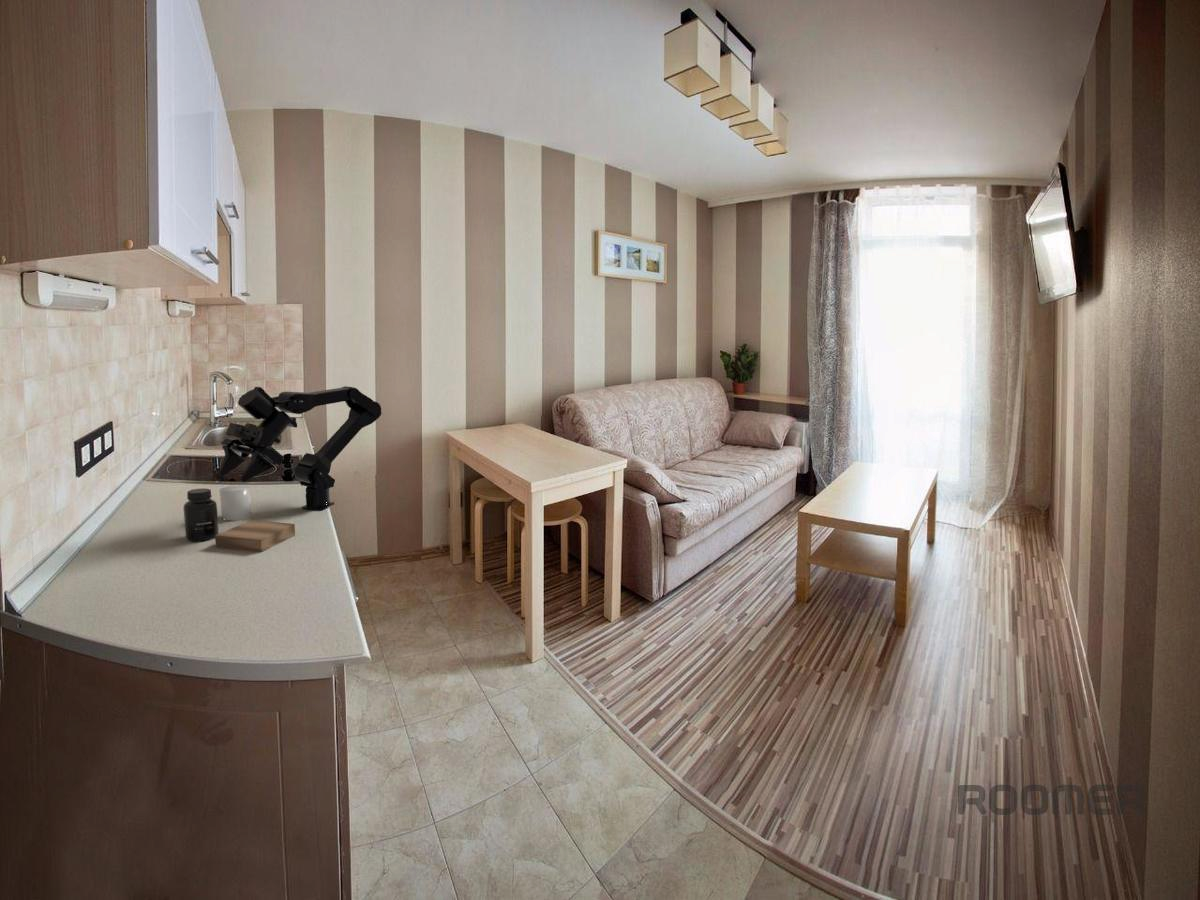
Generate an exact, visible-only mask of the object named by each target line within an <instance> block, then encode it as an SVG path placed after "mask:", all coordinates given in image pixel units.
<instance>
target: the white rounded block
mask: <svg viewBox="0 0 1200 900" xmlns="http://www.w3.org/2000/svg"><path fill="white" fill-rule="evenodd" d="M250 488H251V487H250V486H249V485H242V484H238V485H228V486H224V487H221V488H220V489H219V497H220V500H219V501H220V510H221V512H220V513H221V519H222V518H223V519H225V520H224V521H226V520H237V521H243V520H247V519H249V518H251V517H252V514H253V513H252V502H251V489H250ZM246 518H247V519H246ZM223 519H222V520H223ZM242 519H243V520H242Z"/></svg>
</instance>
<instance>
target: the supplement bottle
mask: <svg viewBox="0 0 1200 900" xmlns="http://www.w3.org/2000/svg"><path fill="white" fill-rule="evenodd" d="M211 491H212V489H211V488H205V487H203V488H202V487H201V488H194V489H190V490H188V491H187V494H186V495H187V496H186V497H187V500H188V501H187V502H185V503H184V505H183V519H184V531H185V532H184V533H185V538H186V540H187V541H190V542H205V541H210V539H211V540H214V539H215V535H217V534H219V533H220V532H219V531H220V530H219V522H218V521H219V518H218V506H217V504H218V503H217V502H216V501H215V500H214V499H212V492H211ZM213 538H214V539H213Z"/></svg>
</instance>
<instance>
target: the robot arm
mask: <svg viewBox="0 0 1200 900" xmlns="http://www.w3.org/2000/svg"><path fill="white" fill-rule="evenodd" d="M342 402H345V405H346V406H347V407H348V408H350V410H349V412H348V418H346V420H345V421H344V423H343V424H342V425H341V426H340V427H339V428H338V429H337V431H335V432H334V433H333V435H332V436H331V437H330V438H329V439H328V440H327V441H326V442H325V443H324V445H323V446H322V447H321V448H319V450H318V451H317V452H316V453H314V454H313V453H309V452H306V453H305V454H303V456H302V458H301V459H300V460H299V461H296V464H297V465H296V466H295V467H294V477H295V478H296V480H298V481H299V484H300V486H302V487H306V488H305V505H303V506H301V508H302V509H305V510H315V509H317V510H318V511H323V510H326V509H328V508H329V507H331V506H334V505H335V502H334V501H333V502H331V501H330V488H334V485H335V483H336V482H335V481H336V480H335V478H334V477H332V476H331V474H330V472H331V468H332V464H333V462H334V460H335V459H336V458H337V457H338V456H339V455H340V454H341V452H343V450H344V449H345V448H346V447H347V446H348V445H349V443H350V442H351V441H352V440H353V439H354V438H355V437H356V436H357V434H359V432H360V431H361V430H362V429H363V428H365V427H368V426H370V425H372V424H373V423H375V422H376V421H377V420H378V419H379V418H380V417H381V416H382V413H383V412H382V407H381V404H380V403H379V402H377V401H374V400H373V399H372V398H370V397H369V396H367V395H366V394H364V393H362V392H361V391H360V390H359V389H358V388H357V387H354V386H346V385H345V386H341V387H337V388H331V389H323V390H317V391H312V392H301V391H300V392H299V391H282V392H280V393H279V394H278V396H274V397H271V395H269V394H268V393H267V392H266V391H265V390H264V389H263V387H261V386H255V387H254V388H253V389H251V390H248V391H247V392H246V393H244V394H242V395H241V396H240V397H239V399H238V401H237V404H238V405H239V407H240V408H242V409H243V410H244V411H245V412H246V413H248V414H249V415H250V416H251V417H253V418H254V419H255V420H261V419H262V420H261V422H260V423H259V424H258V425H257V424H253V423H249V422H247V423H246V424H245V425H243V424H239V423H234V422H229V424H228V427H227V430H226V432H225V435H227V436H232V437H227V438H224V440H223V441H221V443H220V445H221V446H222V450H223V452H224V458H223V461H222V463H221V466H220V470H219V472H218V475H219V476H220V477H224V476H226V475H227V474H229V473H230V472H231V471H233V470H234V469H235V468H237V467H239V466H240V465H241V464H243V463H244V462H246V459H247V458H248V457H249V456H250V455H251V461H250V462H249V464H248V465H247V467H245V470H244V472H242V475H241V476H240V478H239V481H240V482H242V483H244V482H246V481H248V480H250V479H252V478H254V477H256V476H258V475H260V474H262V473H264V472H266V471H269V470H271V469H275V467H280V466H281V465H282V463H284V455H282V454H281V453H280V452H278V451H277V450H276V449H275V448H274V447H273V445H274V444H276V445H277V444H279V443H280V442H281V439H279V438H280V437H281V436H282V434H283V433H284V432H285V430H286V429H287V428H288V427H289V428H298V422H297V417H293V416H290V415H288V414H294V415H295V414H296V415H301V414H303V413H306V412H307V413H308V412H309V411H311V410H312V409H314V408H316V407H321V406H326V405H331V404H336V403H342ZM233 437H235V438H233ZM238 438H239V439H238ZM326 502H327V503H326ZM326 504H327V505H326ZM327 506H328V507H327ZM317 510H316V511H317Z"/></svg>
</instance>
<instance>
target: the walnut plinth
mask: <svg viewBox="0 0 1200 900" xmlns="http://www.w3.org/2000/svg"><path fill="white" fill-rule="evenodd" d="M294 535H295V536H296V527H295V523H290V522H289V523H288V522H286V523H285V522H277V521H270V520H269V521H267V520H257V519H256V520H255V519H251V520H248V521H246V522H243V523H241V524H239V525H236V526H233V527H231V528H229V529H227V530H224V531H222V532H219V534H217V535H215V538H214V540H215V548H220V549H228V550H237V551H240V550H241V551H249V552H257V553H258V552H259V553H262V552H264V551H266V550H268V549H270V548H273V547H274V546H277V545H279V544H280V543H282V542H285V541H287V540H288V539H291V538H292V537H294Z"/></svg>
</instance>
